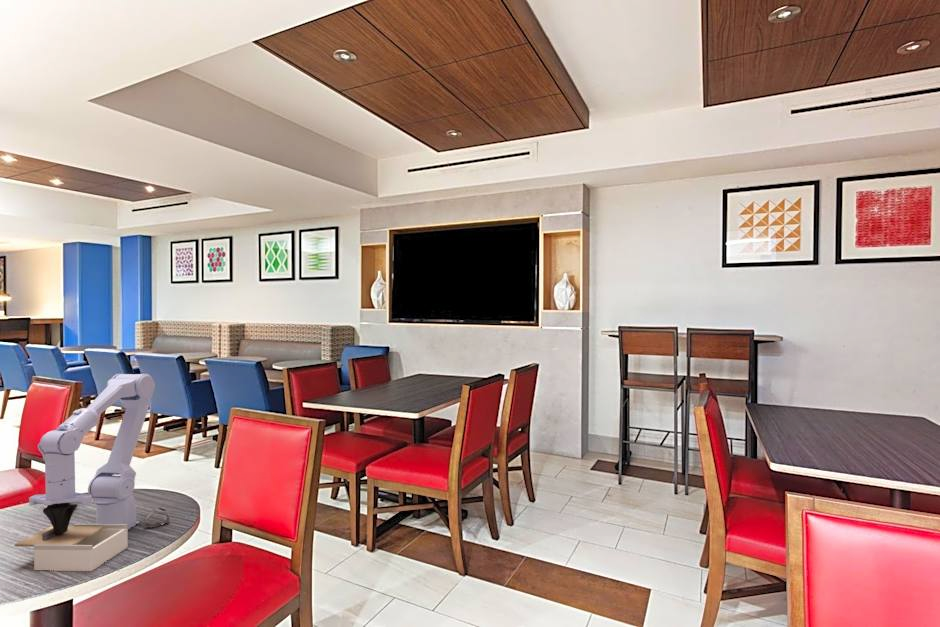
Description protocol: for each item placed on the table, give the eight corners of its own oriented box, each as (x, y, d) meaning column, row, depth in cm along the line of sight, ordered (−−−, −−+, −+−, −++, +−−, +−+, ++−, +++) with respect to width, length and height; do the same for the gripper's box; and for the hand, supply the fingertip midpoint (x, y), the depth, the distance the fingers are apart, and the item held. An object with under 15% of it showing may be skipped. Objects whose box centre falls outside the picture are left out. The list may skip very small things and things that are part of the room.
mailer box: (75, 546, 132) (75, 523, 132) (127, 547, 131) (127, 524, 131) (34, 570, 120) (33, 545, 120) (91, 571, 119) (91, 546, 119)
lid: (51, 527, 131) (51, 519, 131) (104, 528, 130) (103, 520, 130) (14, 546, 121) (14, 537, 121) (71, 546, 120) (71, 538, 120)
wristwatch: (170, 524, 145) (170, 507, 145) (145, 531, 141) (145, 513, 141) (167, 520, 148) (167, 503, 148) (142, 527, 143) (142, 509, 143)
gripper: (17, 484, 122) (18, 540, 122) (75, 484, 121) (76, 540, 121) (43, 474, 129) (44, 527, 129) (98, 474, 128) (99, 527, 128)
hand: (61, 533), depth 126 cm, fingers closed
